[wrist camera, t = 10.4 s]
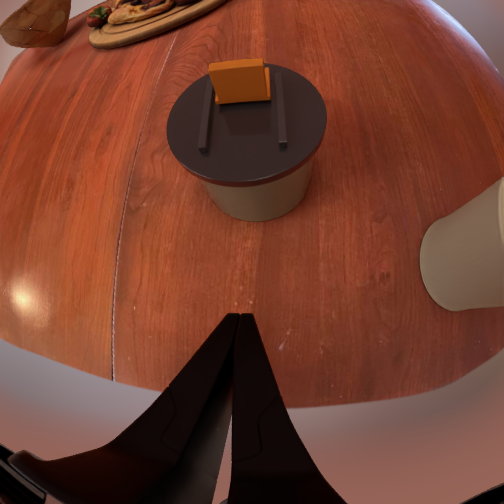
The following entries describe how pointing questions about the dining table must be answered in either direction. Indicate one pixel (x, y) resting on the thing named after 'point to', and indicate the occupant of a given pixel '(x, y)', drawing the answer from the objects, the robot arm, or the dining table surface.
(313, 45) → the dining table surface
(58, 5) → the bowl
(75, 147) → the dining table surface
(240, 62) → the slider
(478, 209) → the can
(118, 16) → the wooden plate
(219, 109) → the round container with rails
